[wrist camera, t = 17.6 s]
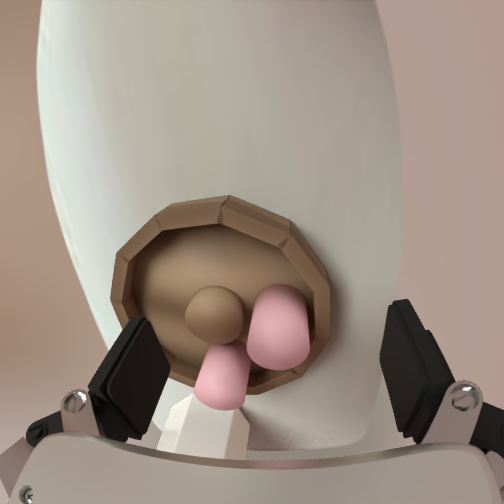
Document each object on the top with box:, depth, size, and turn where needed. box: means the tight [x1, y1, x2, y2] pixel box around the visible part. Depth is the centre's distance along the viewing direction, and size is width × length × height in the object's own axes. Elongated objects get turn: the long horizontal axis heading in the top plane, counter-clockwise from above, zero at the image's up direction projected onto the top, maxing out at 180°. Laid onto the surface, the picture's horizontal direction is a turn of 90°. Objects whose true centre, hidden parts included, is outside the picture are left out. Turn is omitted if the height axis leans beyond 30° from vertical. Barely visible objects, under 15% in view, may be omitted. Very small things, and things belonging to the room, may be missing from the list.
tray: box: [110, 195, 330, 395], centre depth 20 cm, size 16×16×3 cm
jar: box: [156, 393, 250, 460], centre depth 23 cm, size 9×8×12 cm
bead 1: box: [194, 339, 251, 411], centre depth 20 cm, size 4×4×4 cm
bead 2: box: [247, 284, 310, 370], centre depth 18 cm, size 4×4×4 cm
